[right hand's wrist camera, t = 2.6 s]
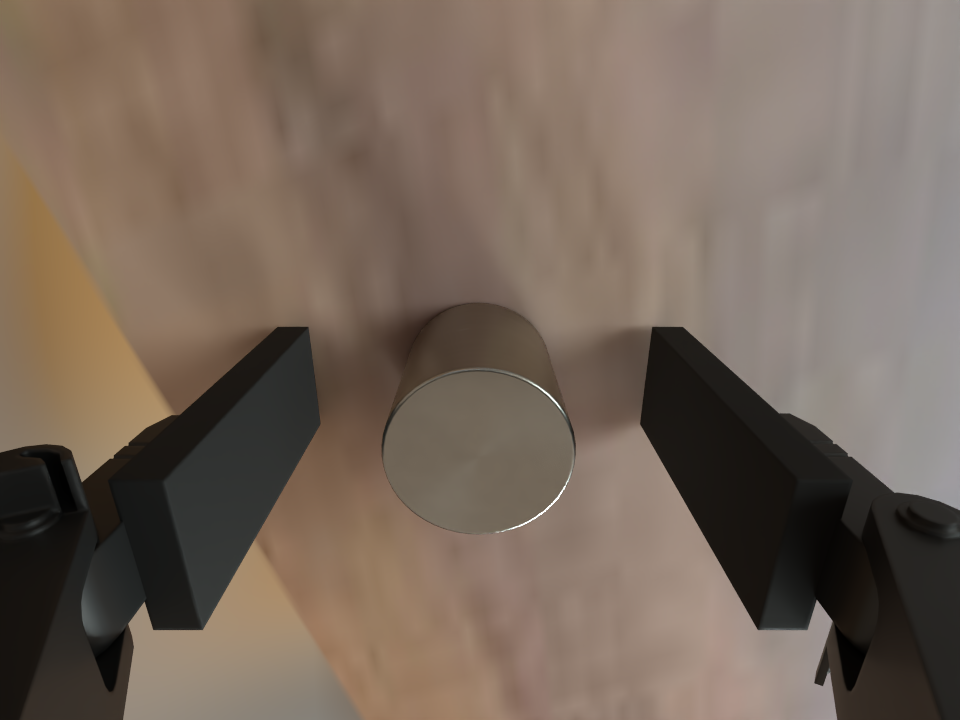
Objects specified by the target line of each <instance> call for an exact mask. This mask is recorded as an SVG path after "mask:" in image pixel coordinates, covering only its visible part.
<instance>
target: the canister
mask: <svg viewBox="0 0 960 720" xmlns="http://www.w3.org/2000/svg"><path fill="white" fill-rule="evenodd" d="M575 456H576V443H575V437H574V431H573V428H572V425H571V422H570V419H569V416H568V413H567V410H566V407H565V404H564V401H563V397H562V394H561V391H560V388H559V385H558V382H557V379H556V376H555V373H554V370H553V367H552V364H551V360H550V357H549V354H548V351H547V348H546V345H545V343H544V341H543V339H542V337H541V336H540V334H539V333H538V331H537V330H536V329H535V328H534V327H533V325H532V324H531V323H530V322H528V321H527V320H526V319H525V318H524V317H522V316H521V315H519V314H518V313H516V312H514V311H512V310H510V309H508V308H505V307H502V306H499V305H494V304H488V303H471V304H464V305H459V306H456V307H453V308H450V309H448V310H446V311H444V312H442V313H440V314H439V315H437V316H436V317H434V318H433V319H432V320H431V321H430V322H429V323H427V324H426V325H425V327H424V328H423V329H422V330H421V331H420V333H419V334H418V336H417V338H416V339H415V341H414V344H413V346H412V348H411V351H410V354H409V357H408V360H407V363H406V366H405V369H404V372H403V375H402V378H401V381H400V384H399V387H398V390H397V393H396V396H395V399H394V402H393V405H392V408H391V411H390V414H389V417H388V420H387V423H386V426H385V430H384V433H383V439H382V460H383V466H384V470H385V473H386V476H387V478H388V480H389V483H390V485H391V487H392V489H393V490H394V492H395V493H396V494H397V496H398V497H399V499H400V500H401V501H402V502H403V503H404V504H405V505H406V506H407V507H408V508H409V509H410V510H411V511H412V512H414V513H415V514H416V515H418V516H419V517H421V518H422V519H424V520H426V521H427V522H429V523H431V524H433V525H436V526H438V527H441V528H443V529H446V530H450V531H454V532H459V533H466V534H493V533H498V532H504V531H507V530H511V529H514V528H517V527H519V526H522V525H524V524H526V523H528V522H530V521H532V520H534V519H535V518H537V517H538V516H540V515H541V514H543V513H544V512H545V511H546V510H547V509H548V508H550V507H551V506H552V505H553V504H554V503H555V501H556V500H557V499H558V498H559V497H560V495H561V494H562V492H563V491H564V489H565V488H566V486H567V484H568V481H569V479H570V477H571V474H572V471H573V468H574V463H575Z"/></svg>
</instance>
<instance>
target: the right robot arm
mask: <svg viewBox="0 0 960 720" xmlns="http://www.w3.org/2000/svg"><path fill="white" fill-rule="evenodd" d="M640 425H641V426H642V428H643V430H644V432H645V433H646V435H647V437H648V439H649V440H650V442H651V444H652V446H653V447H654V449H655V451H656V453H657V454H658V456H659V458H660V460H661V461H662V463H663V465H664V467H665V468H666V470H667V472H668V474H669V475H670V477H671V479H672V481H673V482H674V484H675V486H676V488H677V489H678V491H679V493H680V495H681V496H682V498H683V500H684V502H685V503H686V505H687V507H688V509H689V510H690V512H691V514H692V515H693V517H694V519H695V521H696V522H697V524H698V526H699V528H700V529H701V531H702V533H703V535H704V536H705V538H706V540H707V542H708V543H709V545H710V547H711V549H712V550H713V552H714V554H715V556H716V557H717V559H718V561H719V563H720V564H721V566H722V568H723V570H724V571H725V573H726V575H727V577H728V578H729V580H730V582H731V584H732V585H733V587H734V589H735V591H736V592H737V594H738V596H739V598H740V599H741V601H742V603H743V605H744V606H745V608H746V610H747V612H748V613H749V615H750V617H751V619H752V620H753V622H754V624H755V626H756V627H757V629H758V630H807V629H808V626H809V623H810V620H811V616H812V613H813V610H814V607H815V603H816V600H818V602H819V603H820V604H821V606H822V607H823V608H824V610H825V611H826V612H827V614H828V615H829V616H830V618H831V619H832V620H833V622H832V625H831V628H830V632H829V635H828V638H827V641H826V644H825V647H824V650H823V653H822V656H821V659H820V662H819V665H818V668H817V671H816V677H815V682H814V683H815V684H818V685H821V686H823V684H824V681H825V678H826V676H827V674H828V673H831V680H832V687H833V694H834V700H835V707H836V714H837V720H960V510H958V509H955V508H953V507H951V506H949V505H946V504H944V503H942V502H939V501H936V500H932V499H929V498H925V497H922V496H918V495H912V494H904V493H894V492H893V491H892V490H890V489H889V488H888V487H887V486H886V485H884V484H883V483H882V482H881V481H880V480H878V479H877V478H876V477H875V476H874V475H873V474H871V473H870V472H869V471H868V470H867V469H865V468H864V467H863V466H862V465H861V464H859V463H858V462H857V461H856V460H855V459H853V458H852V457H848V453H846V452H845V451H844V450H843V449H842V448H840V447H839V446H838V445H837V444H833V441H832V440H831V439H830V438H828V437H827V436H826V435H825V434H824V433H823V432H821V431H820V430H819V429H818V428H817V427H815V426H814V425H812V424H810V423H808V422H806V421H804V420H802V419H800V418H798V417H795V416H793V415H791V414H779V413H778V412H777V411H776V410H775V409H773V408H772V407H771V406H770V405H769V404H768V403H767V402H766V401H765V400H763V399H762V398H761V397H760V396H759V395H758V394H757V393H756V392H755V391H753V390H752V389H751V388H750V387H749V386H748V385H747V384H746V383H745V382H743V381H742V380H741V379H740V378H739V377H738V376H737V375H736V374H735V373H733V372H732V371H731V370H730V369H729V368H728V367H727V366H726V365H724V364H723V363H722V362H721V361H720V360H719V359H718V358H717V357H716V356H714V355H713V354H712V353H711V352H710V351H709V350H708V349H707V348H706V347H704V346H703V345H702V344H701V343H700V342H699V341H698V340H697V339H696V338H694V337H693V336H692V335H691V334H690V333H689V332H688V331H687V330H686V329H684V328H683V327H652V334H651V342H650V350H649V357H648V365H647V373H646V381H645V389H644V397H643V405H642V413H641V421H640ZM319 426H320V416H319V408H318V400H317V392H316V384H315V376H314V368H313V360H312V352H311V344H310V336H309V328H308V327H277V328H276V329H275V330H274V331H273V332H272V333H271V334H270V335H268V336H267V337H266V338H265V339H264V340H263V341H262V342H261V343H260V344H258V345H257V346H256V347H255V348H254V349H253V350H252V351H251V352H250V353H248V354H247V355H246V356H245V357H244V358H243V359H242V360H241V361H240V362H238V363H237V364H236V365H235V366H234V367H233V368H232V369H231V370H230V371H228V372H227V373H226V374H225V375H224V376H223V377H222V378H221V379H220V380H218V381H217V382H216V383H215V384H214V385H213V386H212V387H211V388H209V389H208V390H207V391H206V392H205V393H204V394H203V395H202V396H201V397H199V398H198V399H197V400H196V401H195V402H194V403H193V404H192V405H191V406H189V407H188V408H187V409H186V410H185V411H184V412H183V413H182V414H181V415H171V416H169V417H167V418H165V419H163V420H161V421H159V422H157V423H155V424H153V425H151V426H149V427H147V428H146V429H145V430H143V431H142V432H141V433H140V434H139V435H137V436H136V437H135V438H134V439H133V440H132V441H130V442H129V445H128V446H124V447H123V448H122V449H121V450H120V451H119V452H117V453H116V454H115V455H114V459H109V460H108V461H107V462H106V463H104V464H103V465H102V466H101V467H100V468H99V469H97V470H96V471H95V472H94V473H93V474H91V475H90V476H89V477H88V478H87V479H86V480H84V481H83V482H81V479H80V476H79V473H78V470H77V467H76V464H75V461H74V458H73V455H72V452H71V450H69V449H67V448H65V447H64V446H59V445H48V444H45V445H36V446H26V447H22V448H18V449H13V450H9V451H5V452H1V453H0V720H123V715H124V709H125V702H126V695H127V689H128V682H129V675H130V668H131V662H132V655H133V648H134V646H133V640H132V635H131V632H130V628H129V625H128V623H129V622H130V620H131V619H132V618H133V616H134V615H135V614H136V612H137V611H138V610H139V608H140V607H141V605H142V604H143V603H144V601H145V604H146V607H147V611H148V614H149V617H150V620H151V624H152V627H153V630H203V628H204V627H205V625H206V623H207V622H208V620H209V618H210V616H211V615H212V613H213V611H214V609H215V608H216V606H217V604H218V602H219V600H220V599H221V597H222V595H223V593H224V592H225V590H226V588H227V587H228V585H229V583H230V581H231V580H232V578H233V576H234V574H235V572H236V571H237V569H238V567H239V566H240V564H241V562H242V560H243V559H244V557H245V555H246V553H247V552H248V550H249V548H250V546H251V545H252V543H253V541H254V539H255V538H256V536H257V534H258V532H259V531H260V529H261V527H262V525H263V524H264V522H265V520H266V518H267V517H268V515H269V513H270V511H271V510H272V508H273V506H274V504H275V503H276V501H277V499H278V497H279V496H280V494H281V492H282V490H283V489H284V487H285V485H286V483H287V482H288V480H289V478H290V476H291V475H292V473H293V471H294V469H295V468H296V466H297V464H298V462H299V461H300V459H301V457H302V455H303V454H304V452H305V450H306V448H307V447H308V445H309V443H310V441H311V440H312V438H313V436H314V434H315V433H316V431H317V429H318V427H319Z"/></svg>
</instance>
